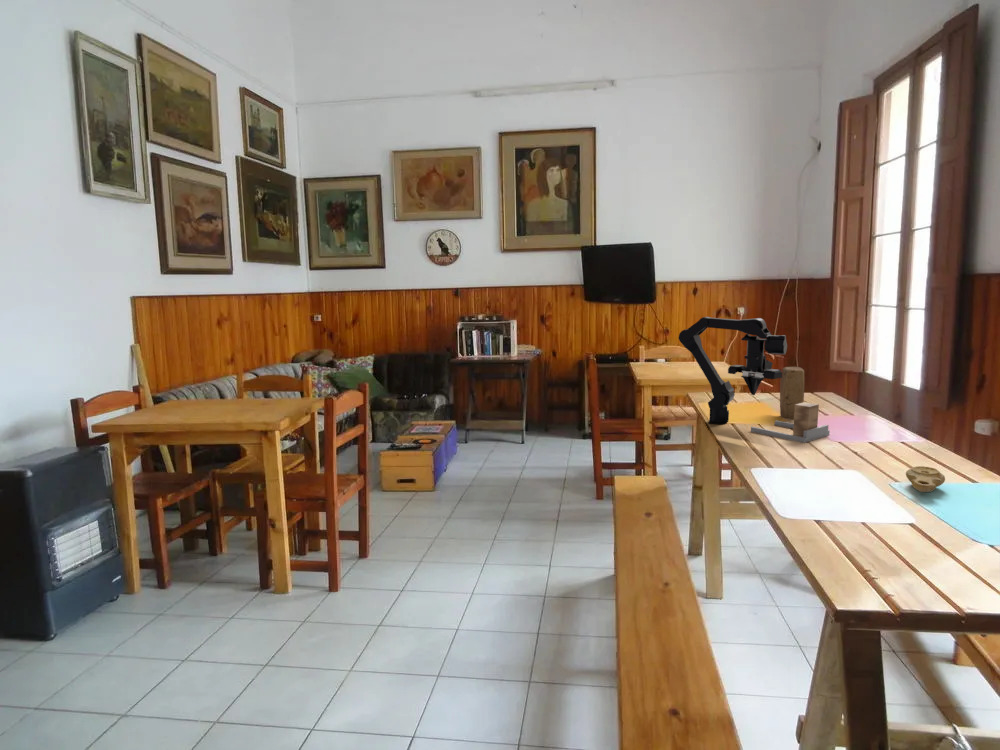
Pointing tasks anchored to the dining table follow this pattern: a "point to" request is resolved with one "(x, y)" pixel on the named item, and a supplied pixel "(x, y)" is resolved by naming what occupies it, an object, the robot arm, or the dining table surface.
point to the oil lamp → (925, 478)
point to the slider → (805, 417)
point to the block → (791, 390)
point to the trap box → (807, 435)
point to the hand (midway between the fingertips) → (753, 394)
